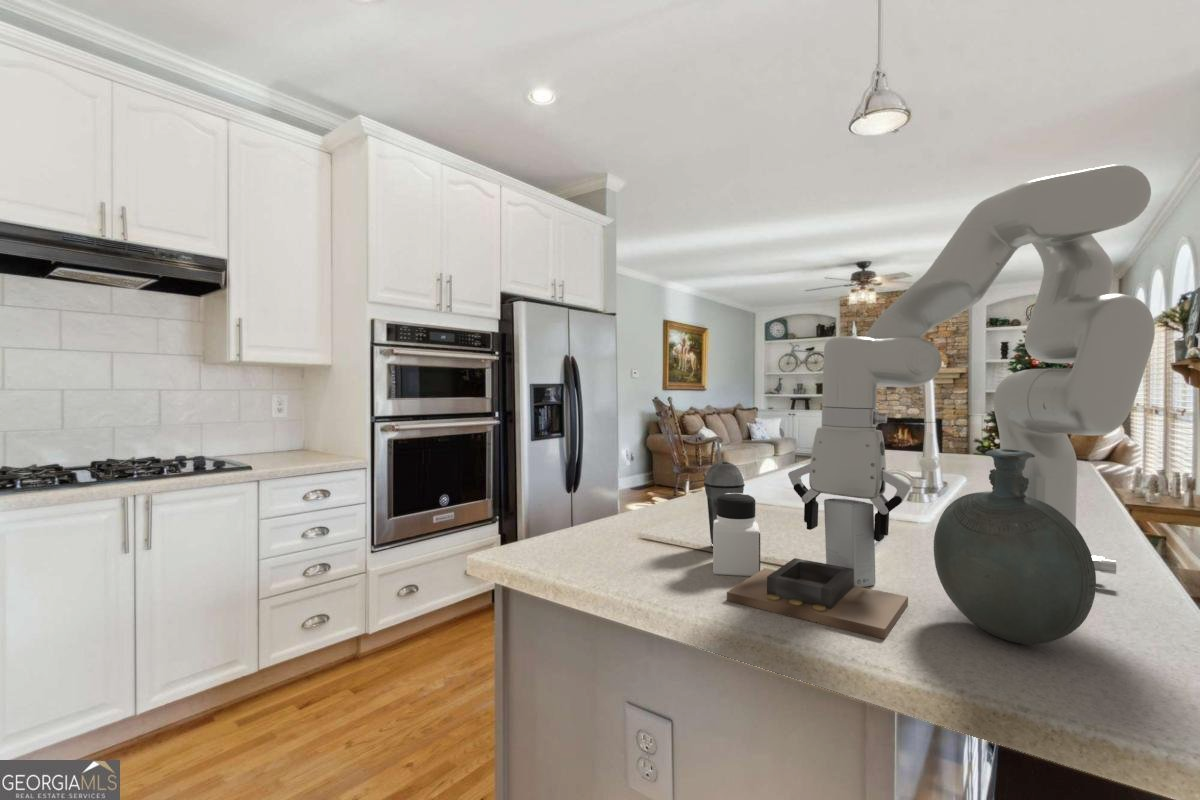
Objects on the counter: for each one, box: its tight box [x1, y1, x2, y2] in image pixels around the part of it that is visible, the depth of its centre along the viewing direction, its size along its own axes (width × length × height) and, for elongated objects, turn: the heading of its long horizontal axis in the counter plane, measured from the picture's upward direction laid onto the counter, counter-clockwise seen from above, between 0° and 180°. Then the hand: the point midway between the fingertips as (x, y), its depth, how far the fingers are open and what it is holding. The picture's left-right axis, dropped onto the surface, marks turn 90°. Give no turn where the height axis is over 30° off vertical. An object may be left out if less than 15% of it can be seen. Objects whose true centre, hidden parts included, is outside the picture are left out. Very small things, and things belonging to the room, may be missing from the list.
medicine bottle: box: [712, 493, 761, 577], centre depth 94 cm, size 7×7×12 cm
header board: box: [726, 557, 909, 640], centre depth 79 cm, size 20×13×4 cm, turn 52°
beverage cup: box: [703, 437, 746, 545], centre depth 106 cm, size 7×7×20 cm
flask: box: [933, 448, 1097, 645], centre depth 68 cm, size 12×17×22 cm
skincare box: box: [823, 496, 876, 588], centre depth 88 cm, size 6×4×12 cm
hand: (844, 533), depth 88 cm, fingers open, 9 cm apart
